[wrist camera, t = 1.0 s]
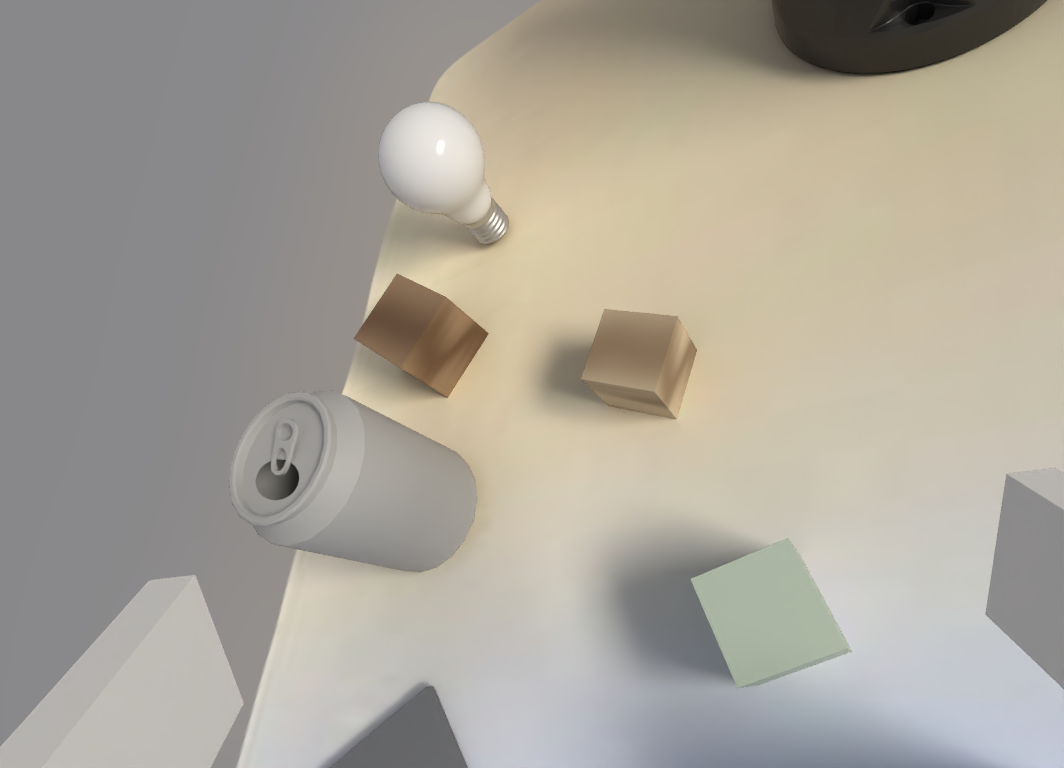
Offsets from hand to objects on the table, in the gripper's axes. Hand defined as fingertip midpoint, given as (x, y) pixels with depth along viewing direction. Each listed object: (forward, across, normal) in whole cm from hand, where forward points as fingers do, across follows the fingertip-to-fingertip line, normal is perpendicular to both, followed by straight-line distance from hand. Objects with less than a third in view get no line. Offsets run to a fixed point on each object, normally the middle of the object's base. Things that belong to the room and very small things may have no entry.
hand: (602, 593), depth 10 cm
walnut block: (+32, -7, -4) cm, 33 cm away
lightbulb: (+36, -2, +2) cm, 36 cm away
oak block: (+23, +5, -5) cm, 24 cm away
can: (+24, -8, -12) cm, 28 cm away
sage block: (+13, +8, -13) cm, 20 cm away
